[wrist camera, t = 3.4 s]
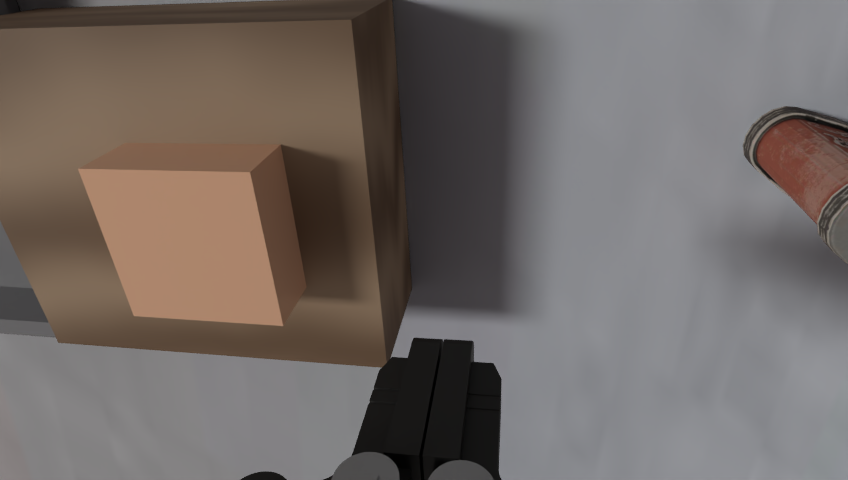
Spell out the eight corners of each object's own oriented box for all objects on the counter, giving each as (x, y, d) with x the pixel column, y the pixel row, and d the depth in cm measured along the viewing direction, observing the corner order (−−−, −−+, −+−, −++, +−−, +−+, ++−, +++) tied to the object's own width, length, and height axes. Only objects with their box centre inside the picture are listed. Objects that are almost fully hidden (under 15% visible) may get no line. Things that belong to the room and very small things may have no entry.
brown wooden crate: (39, 8, 24) (-91, 31, 19) (392, -4, 22) (351, 19, 17) (134, 273, 31) (58, 342, 26) (411, 288, 29) (387, 367, 24)
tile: (125, 142, 20) (78, 168, 18) (280, 144, 19) (250, 172, 17) (170, 279, 23) (134, 316, 21) (306, 287, 22) (283, 326, 20)
